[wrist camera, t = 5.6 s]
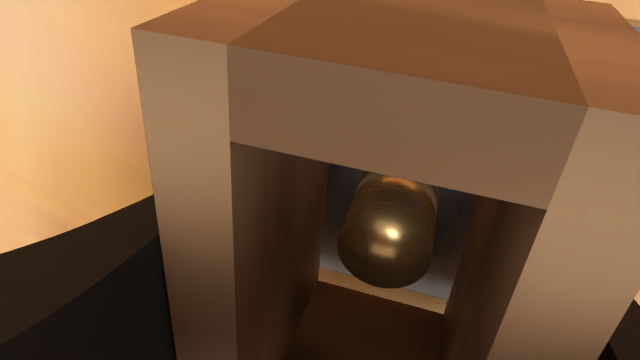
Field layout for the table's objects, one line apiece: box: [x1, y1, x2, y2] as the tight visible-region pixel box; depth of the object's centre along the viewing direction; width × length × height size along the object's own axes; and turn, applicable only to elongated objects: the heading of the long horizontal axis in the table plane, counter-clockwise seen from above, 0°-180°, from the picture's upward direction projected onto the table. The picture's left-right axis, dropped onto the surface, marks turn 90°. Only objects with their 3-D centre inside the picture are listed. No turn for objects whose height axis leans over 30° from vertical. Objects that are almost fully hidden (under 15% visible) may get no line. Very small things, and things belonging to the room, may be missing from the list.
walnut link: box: [131, 0, 640, 360], centre depth 9 cm, size 9×6×5 cm, turn 176°
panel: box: [319, 19, 640, 300], centre depth 11 cm, size 8×8×4 cm
